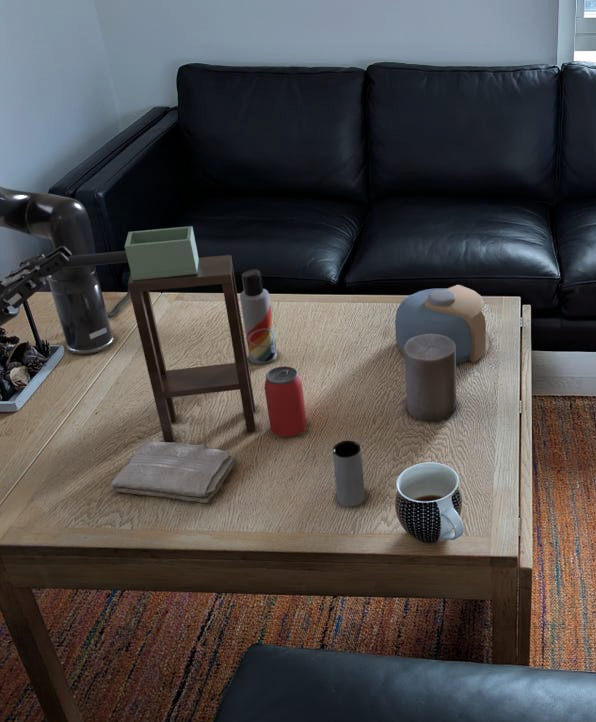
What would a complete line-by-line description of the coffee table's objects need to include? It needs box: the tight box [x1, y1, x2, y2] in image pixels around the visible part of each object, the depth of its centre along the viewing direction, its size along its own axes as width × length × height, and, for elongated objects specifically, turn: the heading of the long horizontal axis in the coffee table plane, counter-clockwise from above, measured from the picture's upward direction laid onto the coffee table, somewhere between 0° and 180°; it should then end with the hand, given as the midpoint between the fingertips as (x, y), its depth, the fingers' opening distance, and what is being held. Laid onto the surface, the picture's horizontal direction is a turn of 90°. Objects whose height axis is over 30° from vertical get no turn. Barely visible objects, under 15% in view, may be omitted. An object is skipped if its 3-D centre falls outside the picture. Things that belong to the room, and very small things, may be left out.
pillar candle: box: [403, 334, 457, 422], centre depth 157 cm, size 10×10×15 cm
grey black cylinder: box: [332, 439, 366, 508], centre depth 135 cm, size 4×4×10 cm
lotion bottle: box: [239, 268, 278, 365], centre depth 170 cm, size 6×6×20 cm
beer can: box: [264, 365, 308, 439], centre depth 151 cm, size 7×7×12 cm
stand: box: [127, 254, 257, 443], centre depth 146 cm, size 8×16×32 cm, turn 104°
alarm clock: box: [394, 284, 490, 364], centre depth 178 cm, size 19×20×12 cm
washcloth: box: [110, 440, 237, 504], centre depth 141 cm, size 12×18×3 cm, turn 82°
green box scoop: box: [29, 225, 200, 280], centre depth 134 cm, size 6×25×6 cm, turn 104°
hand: (66, 253), depth 132 cm, fingers closed on green box scoop
